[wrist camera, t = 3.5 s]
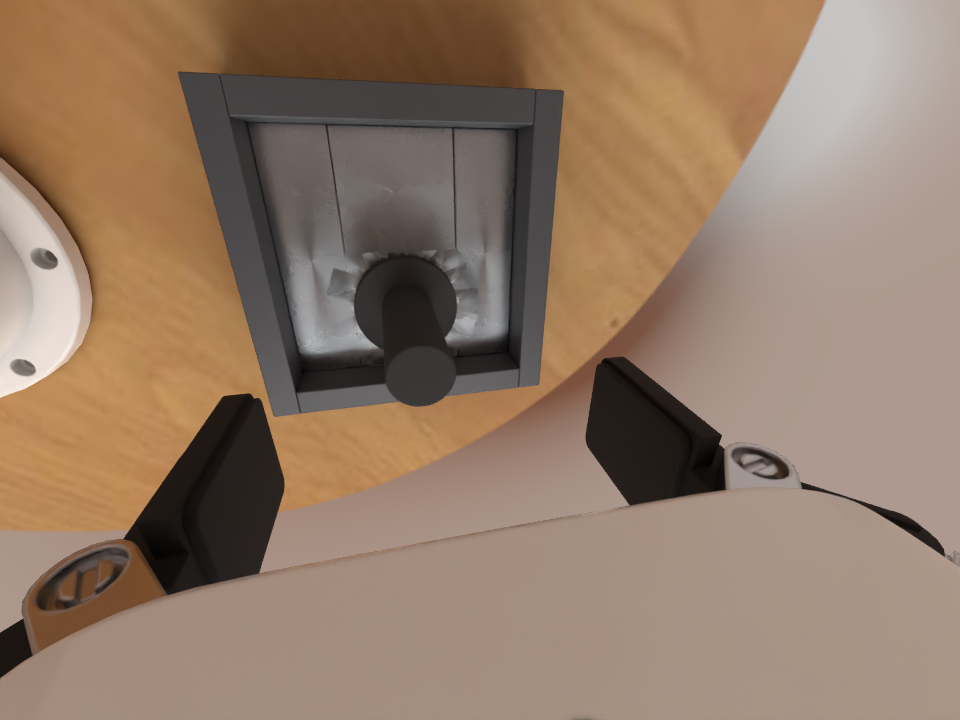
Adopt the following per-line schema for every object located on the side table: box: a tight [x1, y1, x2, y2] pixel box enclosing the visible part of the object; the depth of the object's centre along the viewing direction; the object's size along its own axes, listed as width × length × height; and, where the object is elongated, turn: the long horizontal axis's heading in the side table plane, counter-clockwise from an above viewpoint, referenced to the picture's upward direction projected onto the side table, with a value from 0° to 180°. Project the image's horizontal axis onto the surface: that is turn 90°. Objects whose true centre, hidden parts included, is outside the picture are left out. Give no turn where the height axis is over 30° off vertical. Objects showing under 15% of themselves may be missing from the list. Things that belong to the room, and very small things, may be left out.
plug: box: [354, 255, 457, 406], centre depth 17 cm, size 5×5×10 cm
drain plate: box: [247, 122, 517, 372], centre depth 20 cm, size 11×12×2 cm
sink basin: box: [178, 72, 564, 417], centre depth 19 cm, size 13×13×4 cm
